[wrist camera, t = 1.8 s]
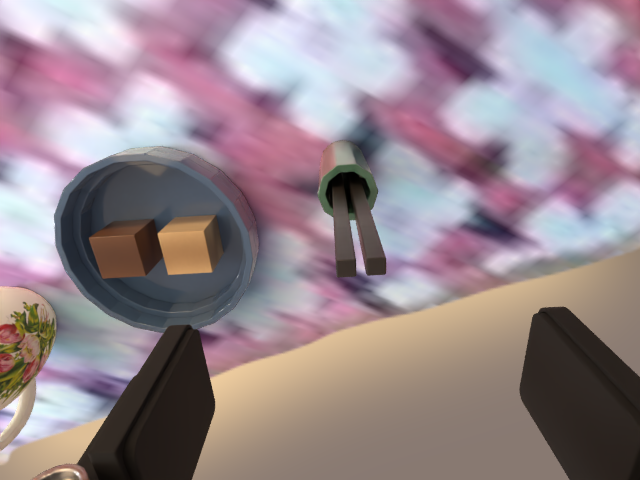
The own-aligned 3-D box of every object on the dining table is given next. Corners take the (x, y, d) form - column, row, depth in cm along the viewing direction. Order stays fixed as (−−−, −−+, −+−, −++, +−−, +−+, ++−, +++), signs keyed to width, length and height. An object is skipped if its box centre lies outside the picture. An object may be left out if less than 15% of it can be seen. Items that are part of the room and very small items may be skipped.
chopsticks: (330, 159, 33) (335, 260, 15) (353, 157, 33) (386, 257, 15) (331, 168, 34) (336, 278, 15) (353, 166, 34) (386, 275, 15)
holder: (318, 141, 33) (315, 166, 24) (363, 138, 33) (377, 162, 24) (321, 184, 35) (319, 222, 26) (364, 181, 35) (378, 218, 25)
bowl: (55, 152, 34) (23, 161, 30) (245, 138, 33) (234, 146, 30) (111, 313, 41) (90, 336, 37) (269, 304, 40) (263, 328, 36)
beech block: (174, 217, 36) (157, 233, 32) (216, 214, 36) (203, 230, 32) (183, 255, 37) (168, 275, 34) (223, 253, 37) (212, 272, 33)
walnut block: (112, 221, 36) (88, 237, 32) (153, 218, 36) (134, 234, 32) (124, 259, 38) (102, 278, 34) (163, 256, 37) (146, 276, 34)
